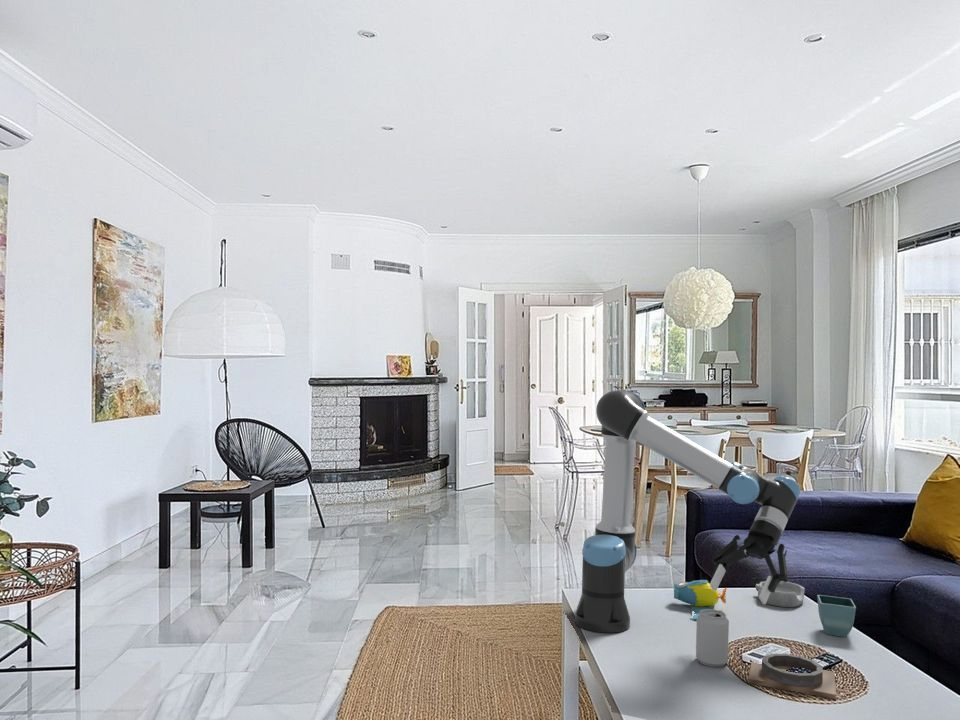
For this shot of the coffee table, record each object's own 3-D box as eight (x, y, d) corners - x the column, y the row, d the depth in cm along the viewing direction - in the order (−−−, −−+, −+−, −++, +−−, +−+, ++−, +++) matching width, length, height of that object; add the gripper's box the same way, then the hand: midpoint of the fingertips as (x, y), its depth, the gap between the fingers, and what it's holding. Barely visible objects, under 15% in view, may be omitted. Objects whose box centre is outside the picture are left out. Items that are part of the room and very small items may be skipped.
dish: (804, 599, 235) (805, 583, 235) (804, 611, 222) (804, 595, 222) (756, 592, 241) (756, 577, 241) (753, 604, 228) (753, 588, 228)
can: (729, 669, 176) (730, 618, 176) (697, 666, 177) (698, 615, 178) (725, 657, 183) (727, 609, 183) (694, 654, 185) (695, 606, 185)
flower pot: (851, 630, 206) (851, 598, 206) (855, 641, 198) (856, 607, 198) (816, 626, 209) (817, 594, 209) (819, 636, 200) (820, 603, 201)
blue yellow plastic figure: (724, 595, 208) (668, 589, 213) (724, 626, 208) (668, 619, 213) (728, 571, 234) (679, 566, 240) (728, 598, 234) (679, 593, 239)
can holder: (747, 682, 168) (748, 667, 168) (752, 661, 181) (752, 647, 181) (835, 699, 161) (836, 683, 161) (834, 676, 174) (834, 661, 174)
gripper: (818, 545, 189) (789, 615, 179) (730, 528, 208) (699, 591, 198) (809, 526, 186) (779, 597, 176) (720, 511, 205) (688, 574, 195)
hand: (736, 594), depth 187 cm, fingers open, 13 cm apart
